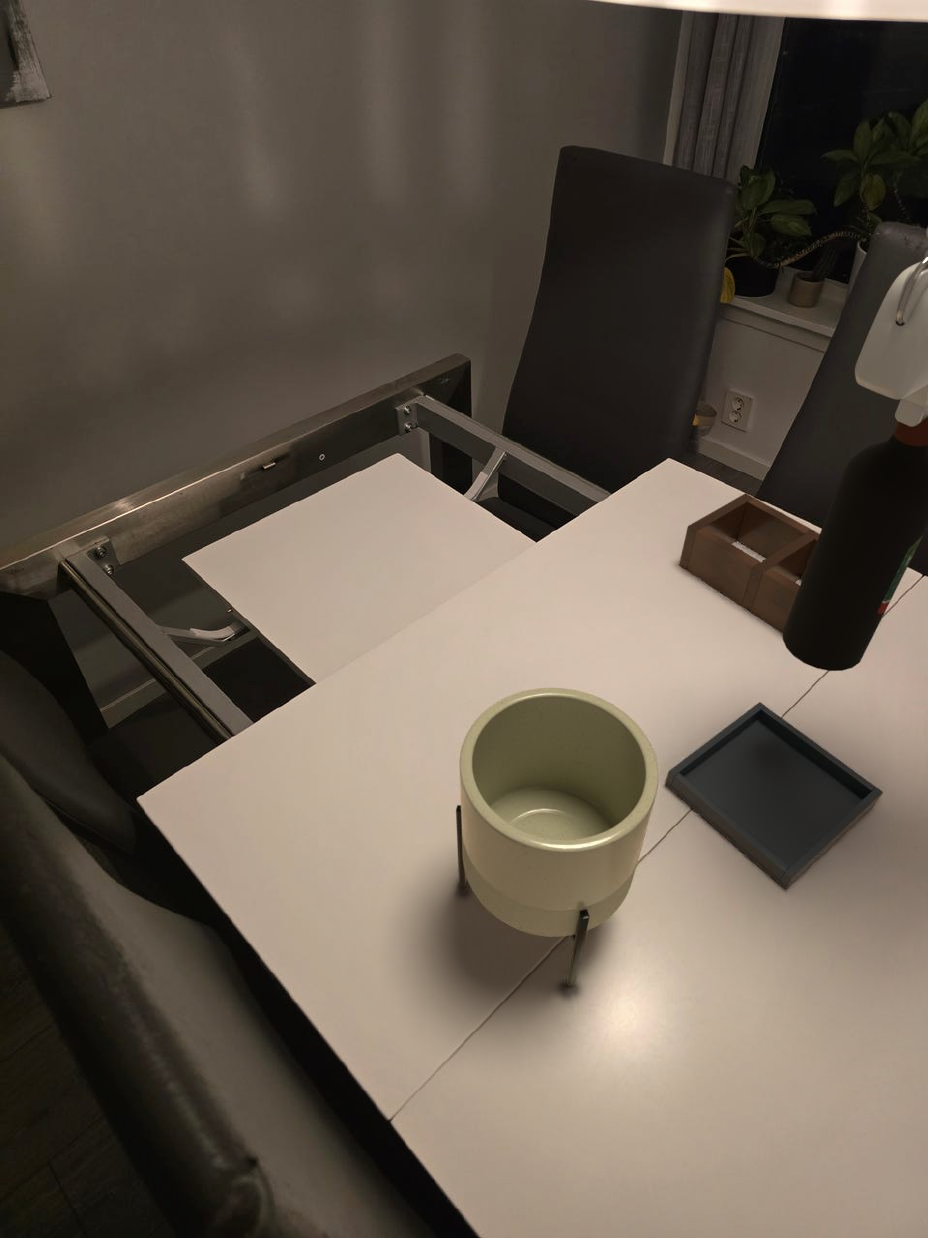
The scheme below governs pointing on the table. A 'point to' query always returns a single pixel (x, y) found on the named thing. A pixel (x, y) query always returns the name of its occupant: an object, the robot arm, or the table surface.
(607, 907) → the planter
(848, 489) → the wine bottle
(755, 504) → the divided storage box
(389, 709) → the table surface
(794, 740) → the tray
